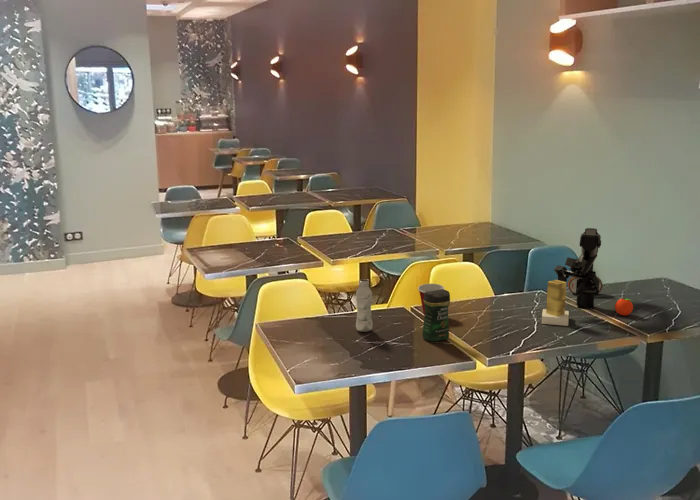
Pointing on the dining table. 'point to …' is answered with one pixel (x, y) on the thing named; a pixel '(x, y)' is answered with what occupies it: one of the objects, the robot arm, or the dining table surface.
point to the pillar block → (556, 297)
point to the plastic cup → (426, 288)
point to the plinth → (555, 318)
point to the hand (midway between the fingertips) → (566, 292)
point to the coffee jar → (436, 315)
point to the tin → (573, 282)
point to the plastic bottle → (364, 306)
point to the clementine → (624, 306)
